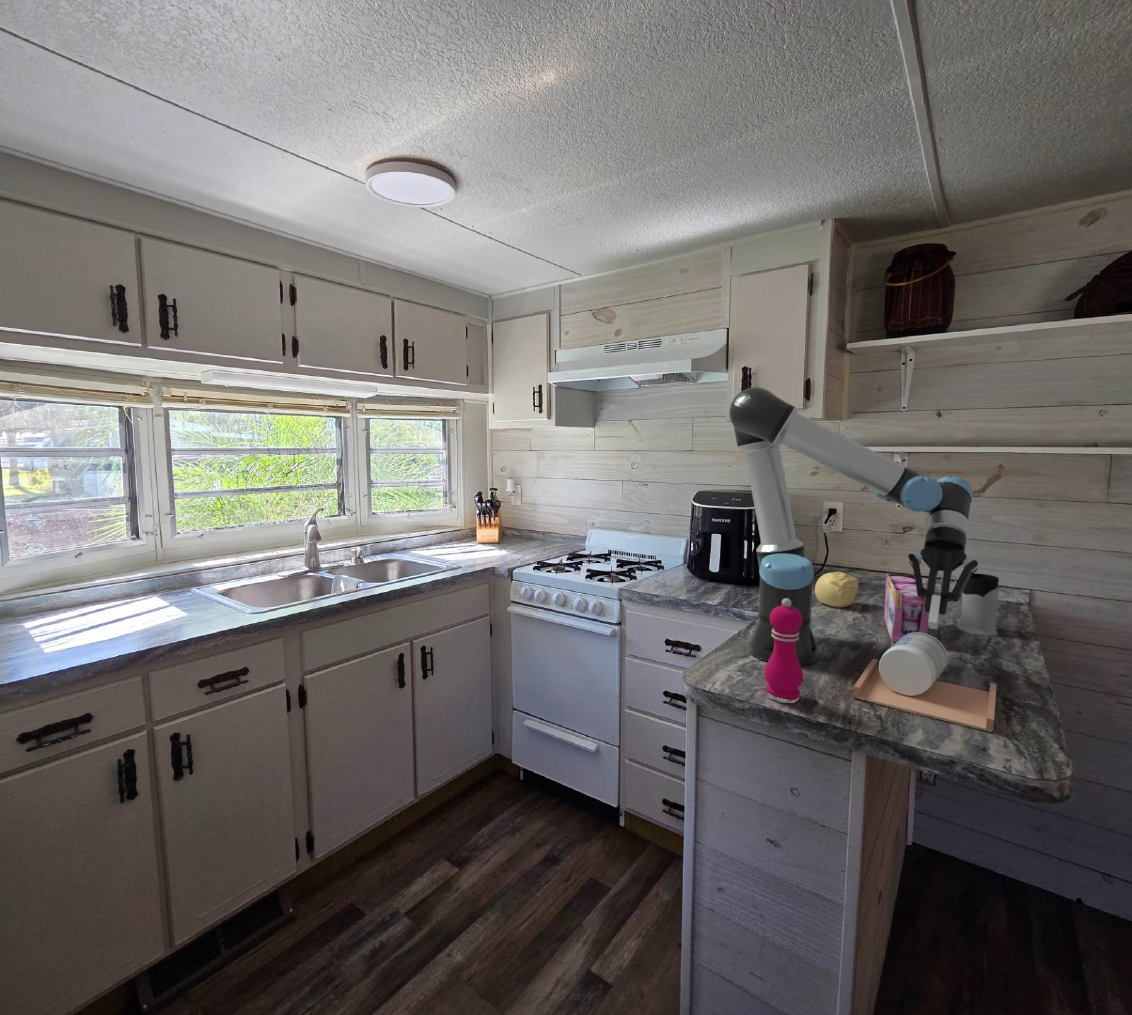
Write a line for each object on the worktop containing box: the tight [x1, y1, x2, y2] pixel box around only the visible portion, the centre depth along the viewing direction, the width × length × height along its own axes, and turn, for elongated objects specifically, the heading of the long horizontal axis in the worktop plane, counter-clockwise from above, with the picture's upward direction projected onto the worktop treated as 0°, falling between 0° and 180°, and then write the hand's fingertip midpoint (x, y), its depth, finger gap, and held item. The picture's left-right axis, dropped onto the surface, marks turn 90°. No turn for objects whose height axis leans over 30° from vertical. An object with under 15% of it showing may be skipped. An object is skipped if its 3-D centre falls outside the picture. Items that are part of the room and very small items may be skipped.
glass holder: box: [939, 572, 1000, 636], centre depth 155 cm, size 9×14×15 cm, turn 33°
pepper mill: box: [763, 598, 804, 700], centre depth 110 cm, size 7×7×20 cm
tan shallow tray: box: [852, 658, 998, 732], centre depth 111 cm, size 19×22×2 cm
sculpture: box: [814, 571, 860, 608], centre depth 178 cm, size 11×12×11 cm
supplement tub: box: [878, 632, 949, 696], centre depth 115 cm, size 10×10×15 cm
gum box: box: [883, 573, 930, 643], centre depth 151 cm, size 24×8×14 cm, turn 155°
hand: (932, 625), depth 115 cm, fingers closed
